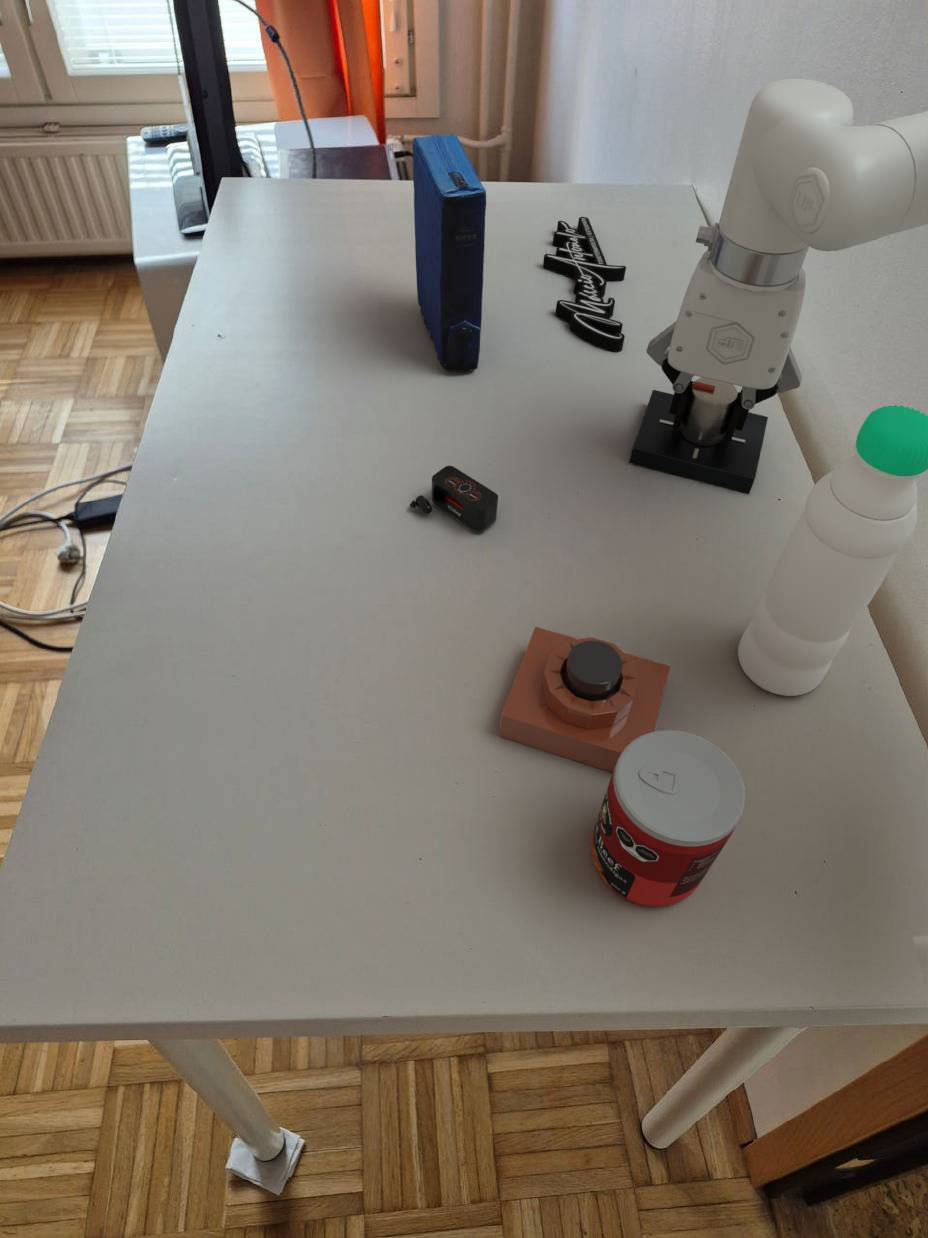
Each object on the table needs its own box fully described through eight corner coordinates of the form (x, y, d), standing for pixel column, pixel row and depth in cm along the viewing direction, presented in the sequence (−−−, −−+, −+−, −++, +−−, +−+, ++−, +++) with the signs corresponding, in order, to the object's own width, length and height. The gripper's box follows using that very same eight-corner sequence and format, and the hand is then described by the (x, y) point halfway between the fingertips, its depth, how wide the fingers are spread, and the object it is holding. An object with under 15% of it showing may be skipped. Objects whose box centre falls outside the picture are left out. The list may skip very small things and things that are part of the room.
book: (485, 374, 96) (497, 190, 81) (438, 380, 95) (440, 195, 80) (455, 301, 105) (460, 122, 89) (411, 306, 104) (408, 126, 88)
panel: (762, 431, 92) (768, 415, 90) (749, 494, 86) (755, 477, 84) (649, 404, 94) (653, 387, 92) (628, 463, 88) (632, 446, 86)
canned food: (585, 805, 65) (610, 725, 56) (694, 810, 65) (736, 731, 56) (591, 908, 60) (619, 839, 51) (709, 913, 60) (757, 845, 51)
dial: (727, 423, 89) (741, 379, 85) (720, 450, 87) (735, 406, 83) (684, 413, 90) (696, 369, 86) (676, 439, 88) (688, 395, 83)
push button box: (662, 687, 71) (676, 650, 67) (638, 781, 66) (651, 746, 62) (531, 648, 73) (537, 610, 69) (498, 736, 68) (503, 700, 64)
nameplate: (657, 338, 99) (569, 342, 98) (654, 350, 100) (568, 353, 99) (604, 215, 116) (529, 217, 115) (602, 227, 117) (528, 229, 116)
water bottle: (788, 715, 70) (929, 479, 51) (718, 659, 73) (825, 418, 54) (838, 668, 73) (990, 430, 54) (769, 617, 76) (888, 374, 57)
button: (622, 665, 67) (627, 649, 65) (610, 707, 65) (615, 691, 63) (571, 650, 68) (575, 633, 66) (558, 690, 65) (561, 675, 64)
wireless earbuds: (442, 485, 85) (442, 459, 83) (498, 521, 82) (501, 496, 80) (408, 510, 83) (408, 484, 80) (465, 548, 80) (467, 523, 78)
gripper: (649, 252, 73) (612, 428, 87) (858, 296, 70) (785, 471, 84) (666, 211, 77) (628, 384, 92) (864, 251, 74) (793, 423, 89)
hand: (704, 424), depth 88 cm, fingers closed on dial, 4 cm apart
